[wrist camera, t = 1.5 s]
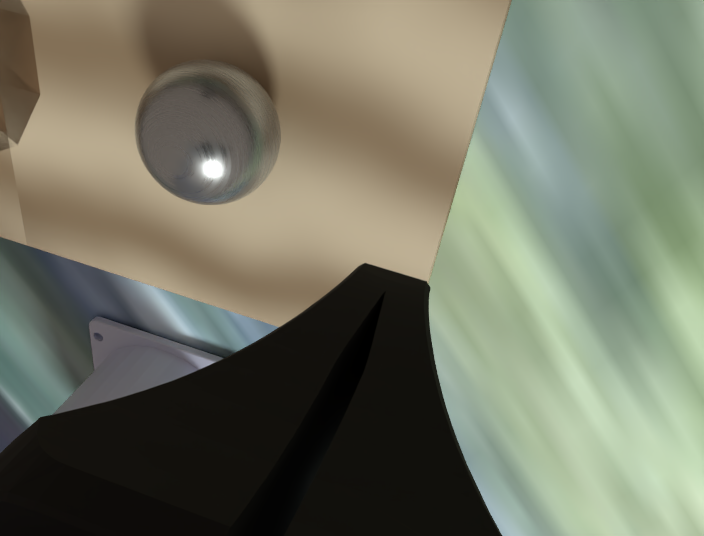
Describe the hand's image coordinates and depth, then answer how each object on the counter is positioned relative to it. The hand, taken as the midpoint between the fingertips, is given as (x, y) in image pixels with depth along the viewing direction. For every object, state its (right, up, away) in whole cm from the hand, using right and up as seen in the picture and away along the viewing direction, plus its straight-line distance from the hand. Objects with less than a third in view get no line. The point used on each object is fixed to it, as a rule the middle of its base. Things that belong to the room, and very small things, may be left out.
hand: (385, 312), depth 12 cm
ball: (-5, +5, +5) cm, 8 cm away
